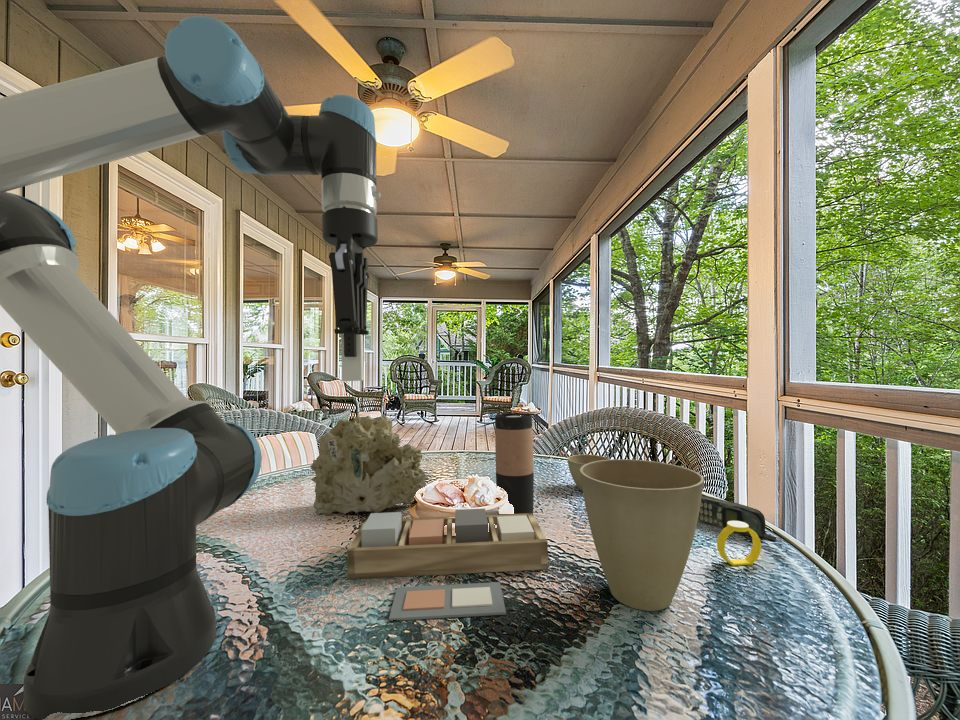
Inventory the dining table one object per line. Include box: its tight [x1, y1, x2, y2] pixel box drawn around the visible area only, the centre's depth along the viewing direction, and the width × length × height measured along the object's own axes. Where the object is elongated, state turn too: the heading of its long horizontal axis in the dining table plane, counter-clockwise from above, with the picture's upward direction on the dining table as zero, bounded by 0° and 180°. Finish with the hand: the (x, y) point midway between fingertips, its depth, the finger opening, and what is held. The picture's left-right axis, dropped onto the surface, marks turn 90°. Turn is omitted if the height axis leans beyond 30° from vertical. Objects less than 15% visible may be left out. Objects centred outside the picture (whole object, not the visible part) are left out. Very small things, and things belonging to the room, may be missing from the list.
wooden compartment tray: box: [346, 512, 549, 580], centre depth 67 cm, size 12×29×4 cm, turn 93°
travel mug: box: [494, 412, 535, 514], centre depth 84 cm, size 8×8×20 cm
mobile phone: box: [697, 494, 777, 542], centre depth 75 cm, size 5×3×15 cm
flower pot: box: [566, 454, 611, 491], centre depth 100 cm, size 10×10×7 cm
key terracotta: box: [409, 519, 444, 545], centre depth 66 cm, size 7×5×3 cm
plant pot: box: [580, 458, 705, 612], centre depth 54 cm, size 15×15×16 cm
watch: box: [716, 521, 762, 567], centre depth 62 cm, size 6×3×6 cm, turn 94°
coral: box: [309, 415, 429, 515], centre depth 89 cm, size 25×10×20 cm, turn 87°
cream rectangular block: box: [497, 515, 534, 541], centre depth 67 cm, size 7×5×3 cm
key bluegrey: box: [361, 511, 402, 547], centre depth 66 cm, size 7×5×3 cm
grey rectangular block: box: [454, 508, 489, 543], centre depth 67 cm, size 7×5×3 cm
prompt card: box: [388, 581, 507, 622], centre depth 54 cm, size 7×14×1 cm, turn 93°
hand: (353, 380), depth 59 cm, fingers closed
